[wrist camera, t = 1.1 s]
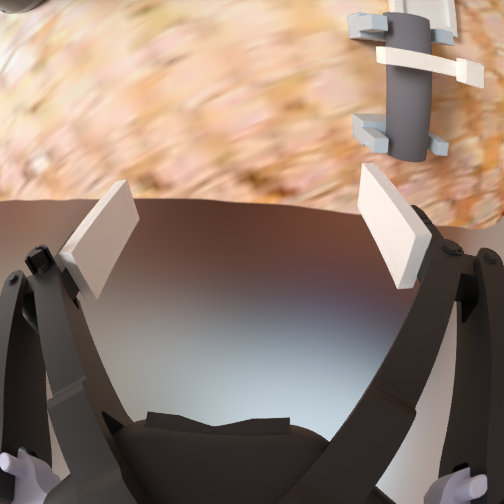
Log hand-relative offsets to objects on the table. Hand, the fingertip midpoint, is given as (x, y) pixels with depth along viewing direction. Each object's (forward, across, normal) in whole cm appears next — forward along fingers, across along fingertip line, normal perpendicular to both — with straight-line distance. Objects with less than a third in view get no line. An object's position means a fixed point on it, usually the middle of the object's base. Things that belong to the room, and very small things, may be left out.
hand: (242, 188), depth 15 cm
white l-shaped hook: (+12, +17, +8) cm, 22 cm away
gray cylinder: (+17, +17, +5) cm, 25 cm away
